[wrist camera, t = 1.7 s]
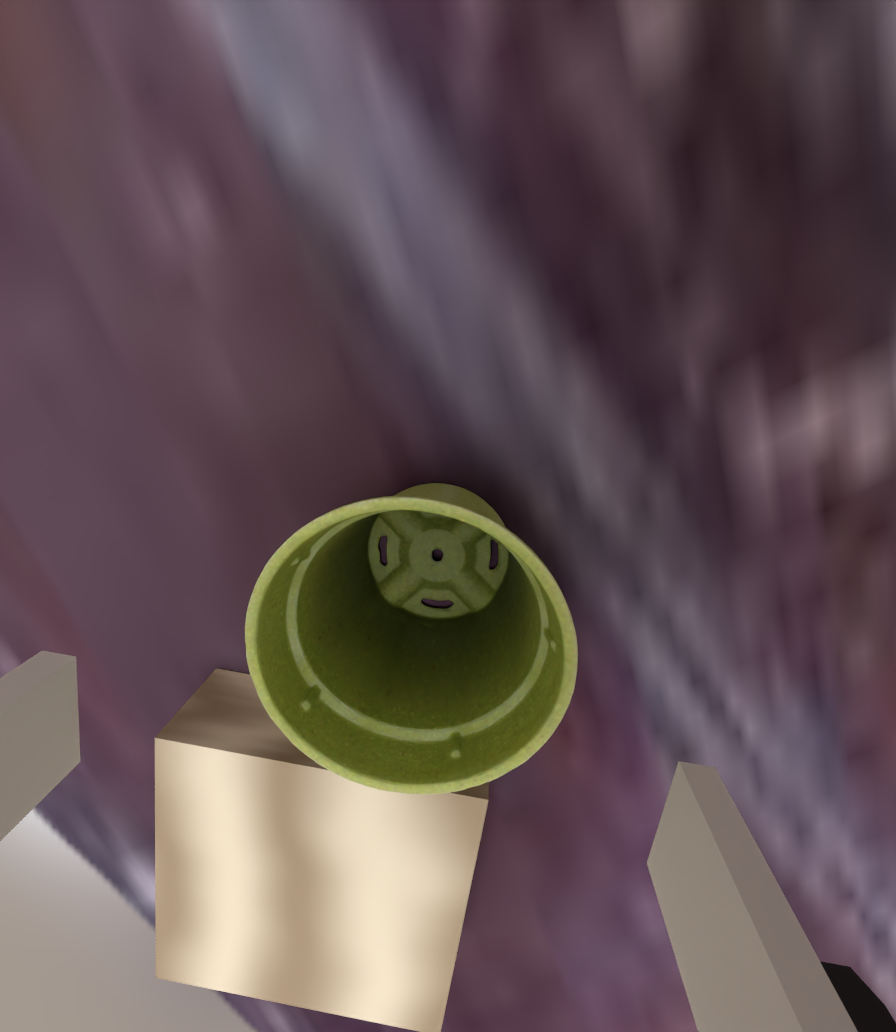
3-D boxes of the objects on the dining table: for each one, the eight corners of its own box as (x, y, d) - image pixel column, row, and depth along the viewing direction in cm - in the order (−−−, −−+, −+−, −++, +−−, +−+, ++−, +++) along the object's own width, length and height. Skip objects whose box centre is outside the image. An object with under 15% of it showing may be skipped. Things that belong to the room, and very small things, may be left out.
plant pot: (547, 654, 25) (570, 805, 17) (337, 648, 26) (262, 789, 18) (554, 443, 23) (586, 498, 14) (321, 444, 23) (223, 497, 15)
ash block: (490, 717, 26) (488, 800, 21) (449, 926, 30) (439, 1035, 25) (216, 668, 27) (155, 737, 22) (209, 879, 31) (155, 977, 26)
